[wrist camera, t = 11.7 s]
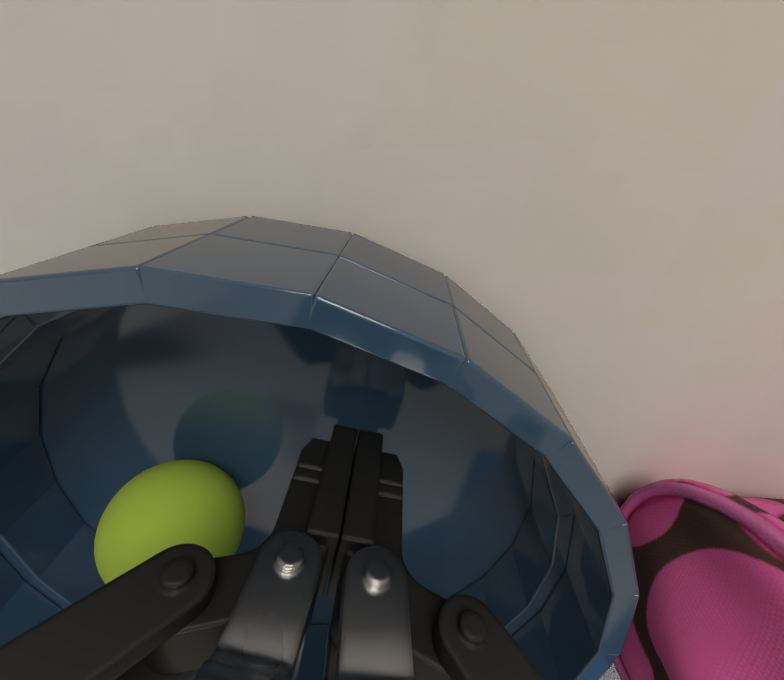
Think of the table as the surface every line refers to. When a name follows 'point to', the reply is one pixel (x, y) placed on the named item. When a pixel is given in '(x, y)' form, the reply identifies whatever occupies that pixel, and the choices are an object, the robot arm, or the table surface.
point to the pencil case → (705, 584)
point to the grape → (169, 515)
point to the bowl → (300, 422)
